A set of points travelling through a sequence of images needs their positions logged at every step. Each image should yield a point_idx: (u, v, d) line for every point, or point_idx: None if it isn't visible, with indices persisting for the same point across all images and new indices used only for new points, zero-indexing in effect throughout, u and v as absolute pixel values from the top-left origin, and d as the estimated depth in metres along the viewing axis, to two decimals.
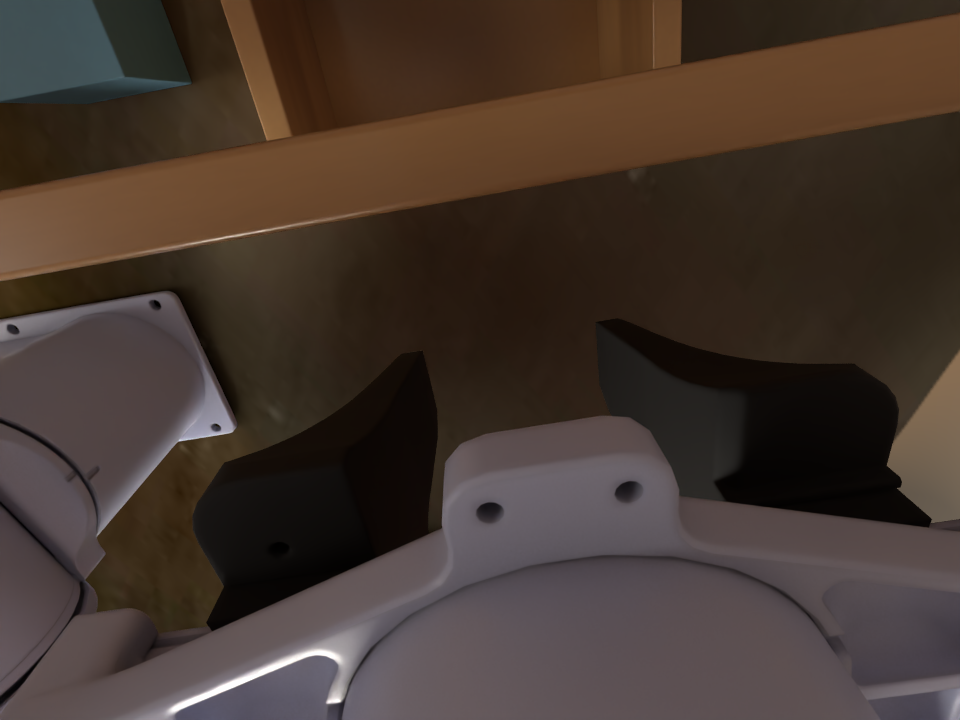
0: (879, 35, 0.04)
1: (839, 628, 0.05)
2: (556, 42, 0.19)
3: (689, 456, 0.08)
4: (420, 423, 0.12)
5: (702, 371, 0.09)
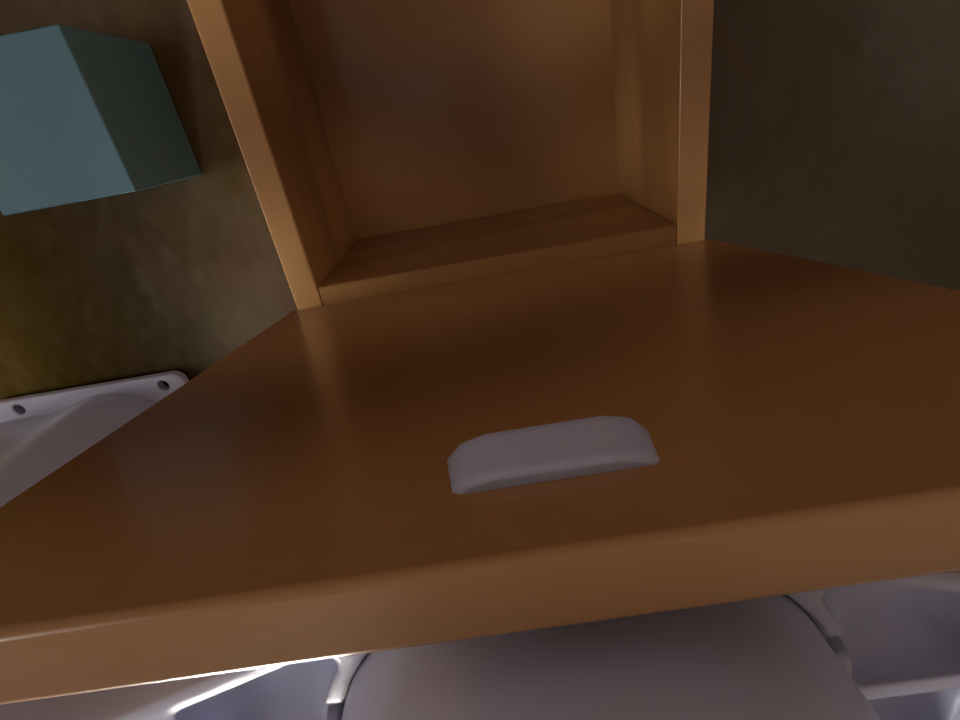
0: None
1: (839, 628, 0.05)
2: (573, 135, 0.18)
3: None
4: None
5: None
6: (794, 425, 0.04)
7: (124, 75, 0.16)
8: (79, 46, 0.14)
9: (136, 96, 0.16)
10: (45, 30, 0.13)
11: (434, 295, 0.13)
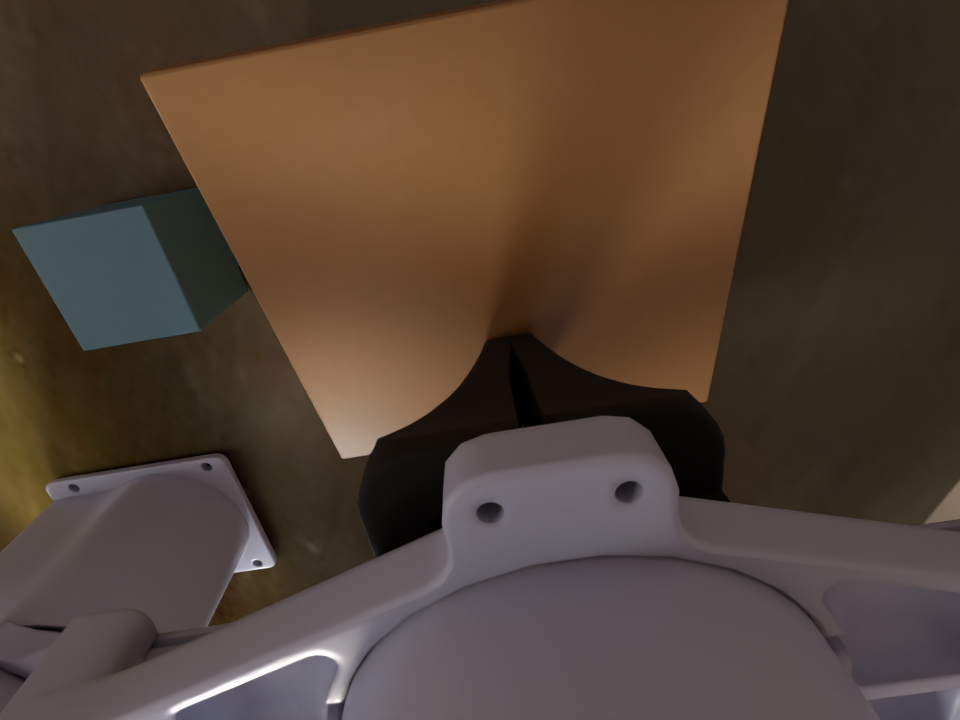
0: None
1: (839, 628, 0.05)
2: None
3: None
4: (516, 408, 0.12)
5: (564, 393, 0.09)
6: None
7: (189, 226, 0.18)
8: (157, 217, 0.16)
9: (198, 242, 0.18)
10: (131, 210, 0.16)
11: None
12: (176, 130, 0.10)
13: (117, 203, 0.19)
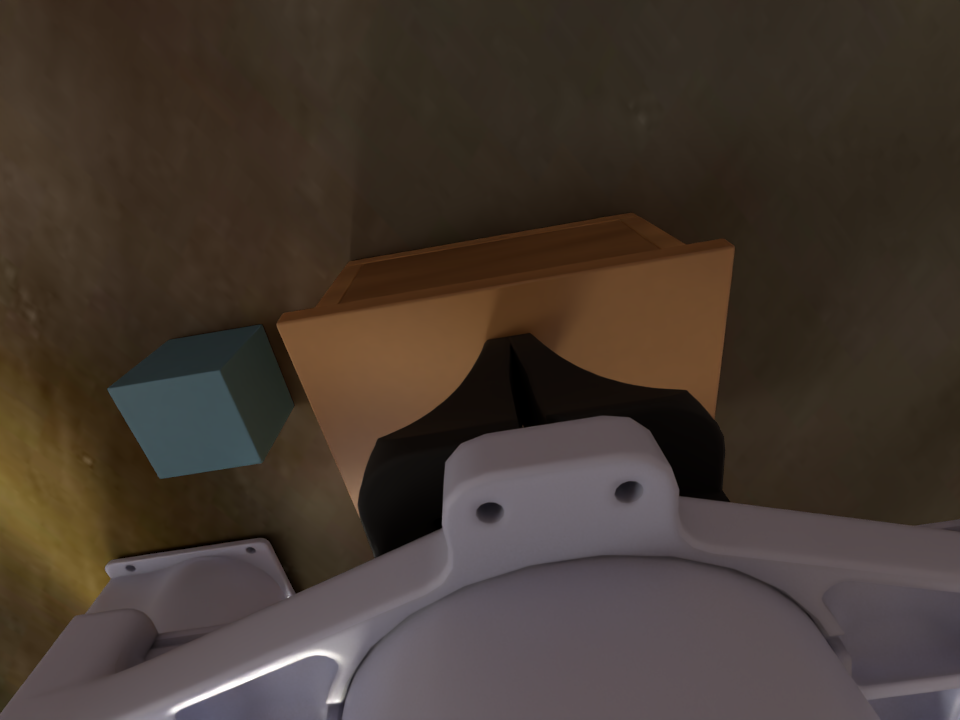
0: (605, 258, 0.13)
1: (839, 628, 0.05)
2: None
3: None
4: (516, 408, 0.12)
5: (564, 393, 0.09)
6: None
7: (251, 370, 0.21)
8: (229, 375, 0.19)
9: (258, 380, 0.21)
10: (209, 374, 0.18)
11: None
12: (295, 354, 0.14)
13: (186, 344, 0.21)
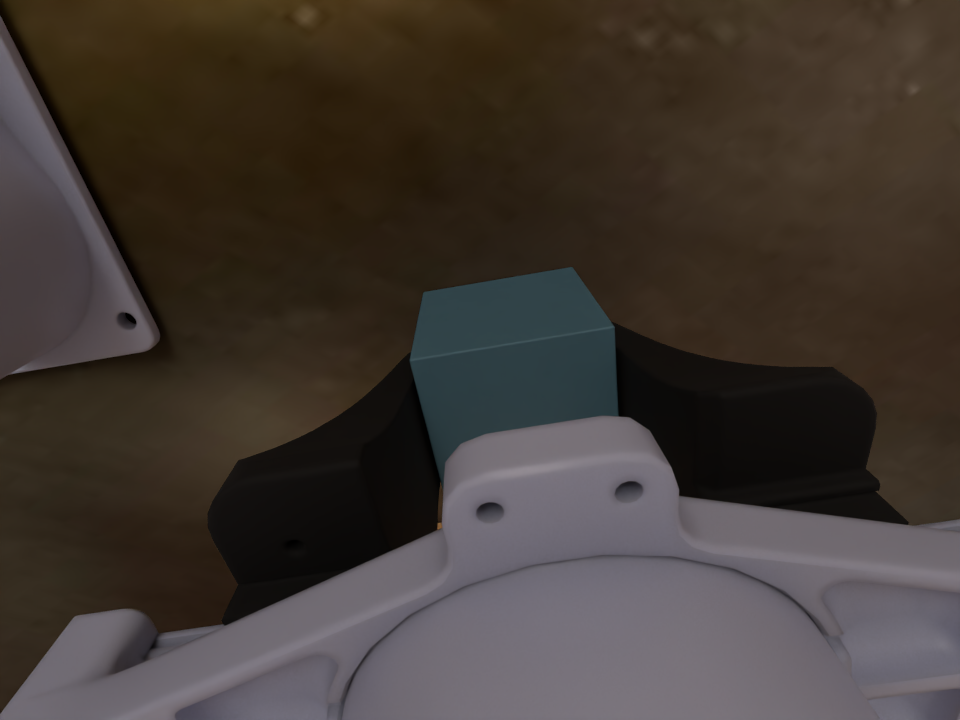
0: None
1: (839, 628, 0.05)
2: None
3: (671, 459, 0.08)
4: None
5: (684, 374, 0.09)
6: None
7: None
8: None
9: None
10: None
11: None
12: None
13: None
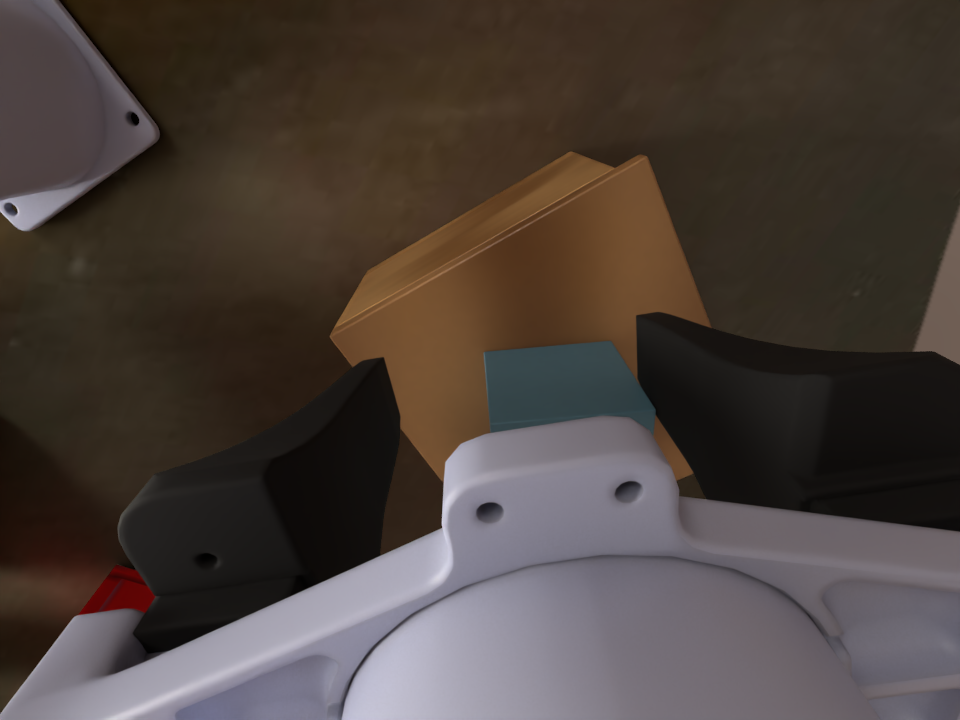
0: None
1: (839, 628, 0.05)
2: None
3: (754, 446, 0.08)
4: (376, 430, 0.12)
5: (766, 361, 0.09)
6: None
7: None
8: None
9: None
10: None
11: None
12: (618, 179, 0.15)
13: None
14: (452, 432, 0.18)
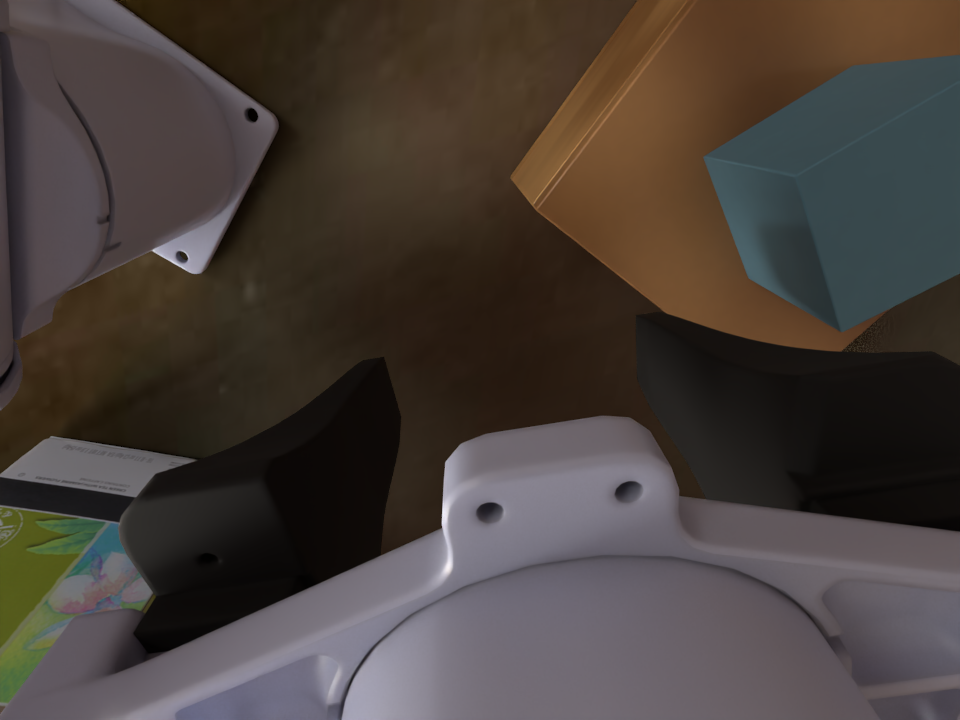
0: None
1: (839, 628, 0.05)
2: None
3: (754, 446, 0.08)
4: (377, 430, 0.12)
5: (766, 361, 0.09)
6: None
7: None
8: None
9: None
10: None
11: None
12: None
13: None
14: (695, 270, 0.16)
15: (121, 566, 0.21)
